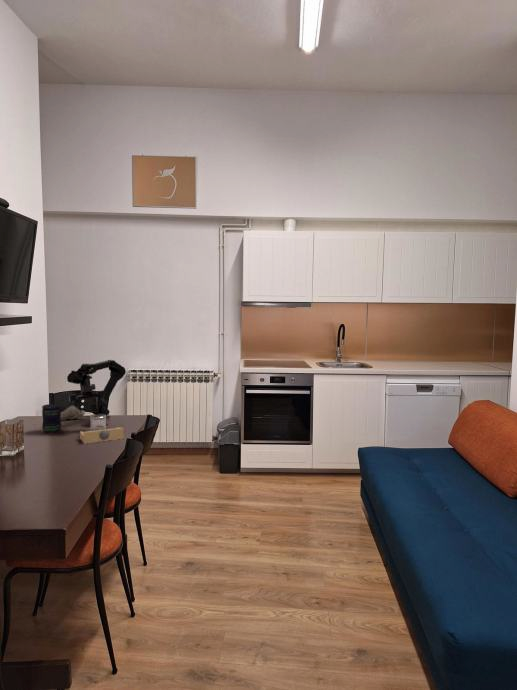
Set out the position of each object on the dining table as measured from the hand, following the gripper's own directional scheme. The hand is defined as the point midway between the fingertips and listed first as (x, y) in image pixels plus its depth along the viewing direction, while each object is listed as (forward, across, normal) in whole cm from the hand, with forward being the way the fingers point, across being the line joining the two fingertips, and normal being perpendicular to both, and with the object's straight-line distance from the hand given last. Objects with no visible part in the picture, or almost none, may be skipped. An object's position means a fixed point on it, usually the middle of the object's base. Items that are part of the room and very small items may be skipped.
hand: (89, 410), depth 270 cm
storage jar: (+4, -20, +15) cm, 25 cm away
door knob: (+15, +3, +2) cm, 15 cm away
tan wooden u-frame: (+19, +4, -6) cm, 21 cm away
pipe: (-11, -8, +40) cm, 42 cm away
